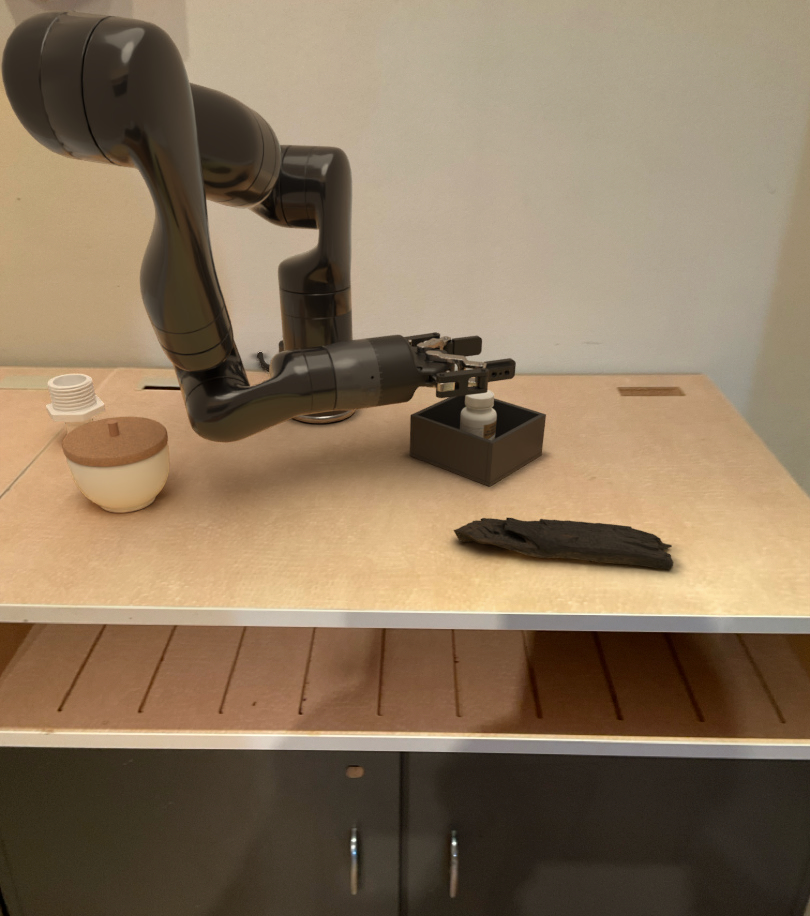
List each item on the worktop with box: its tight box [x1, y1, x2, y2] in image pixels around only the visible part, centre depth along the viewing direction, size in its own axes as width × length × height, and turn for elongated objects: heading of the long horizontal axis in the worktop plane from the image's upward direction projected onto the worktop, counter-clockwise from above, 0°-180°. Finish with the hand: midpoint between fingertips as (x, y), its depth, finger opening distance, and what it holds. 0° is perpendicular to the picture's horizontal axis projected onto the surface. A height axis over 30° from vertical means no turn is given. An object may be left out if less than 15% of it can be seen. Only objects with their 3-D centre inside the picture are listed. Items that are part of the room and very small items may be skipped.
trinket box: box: [61, 416, 170, 514], centre depth 86 cm, size 11×11×9 cm
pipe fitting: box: [45, 373, 107, 435], centre depth 99 cm, size 6×7×8 cm
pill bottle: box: [460, 389, 497, 441], centre depth 96 cm, size 4×4×8 cm
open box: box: [409, 395, 547, 487], centre depth 97 cm, size 12×11×6 cm
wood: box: [452, 517, 675, 570], centre depth 80 cm, size 22×7×3 cm, turn 83°
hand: (496, 355), depth 93 cm, fingers open, 8 cm apart
